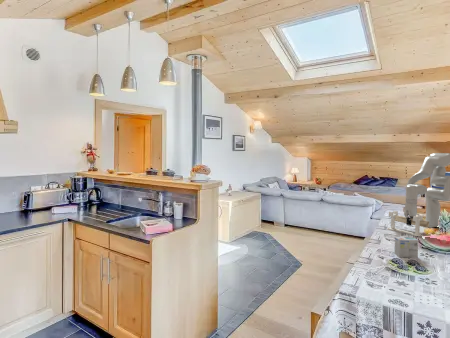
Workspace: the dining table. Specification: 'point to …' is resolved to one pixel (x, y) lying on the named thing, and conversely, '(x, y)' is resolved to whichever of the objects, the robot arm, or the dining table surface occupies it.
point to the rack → (417, 229)
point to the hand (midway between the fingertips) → (410, 224)
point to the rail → (403, 220)
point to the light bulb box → (406, 247)
